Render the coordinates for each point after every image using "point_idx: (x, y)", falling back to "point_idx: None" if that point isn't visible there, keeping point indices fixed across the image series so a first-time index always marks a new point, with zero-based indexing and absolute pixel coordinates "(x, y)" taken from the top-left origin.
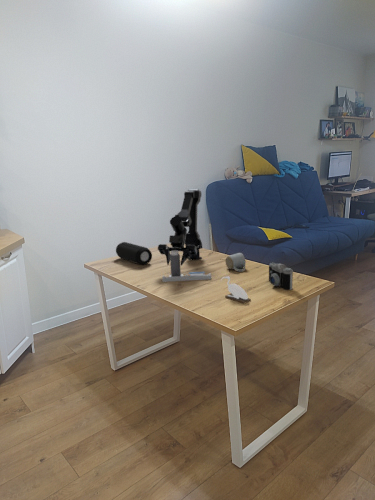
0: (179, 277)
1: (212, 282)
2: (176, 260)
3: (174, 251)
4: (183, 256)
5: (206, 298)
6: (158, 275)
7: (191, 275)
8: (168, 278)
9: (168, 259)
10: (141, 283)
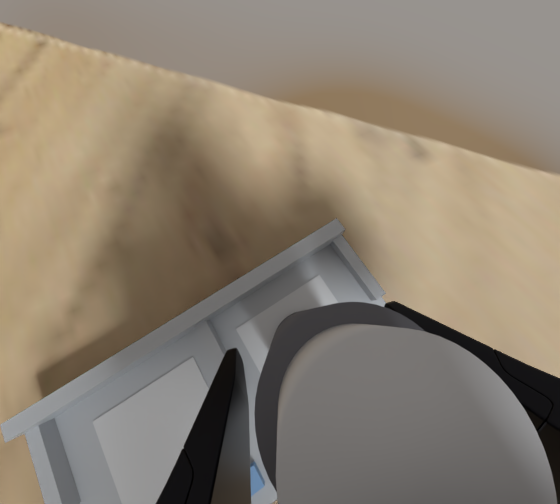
0: (235, 281)
1: (28, 367)
2: (279, 332)
3: (369, 405)
4: (187, 479)
5: (13, 145)
6: None
7: None
8: (300, 241)
9: None
10: (431, 180)
